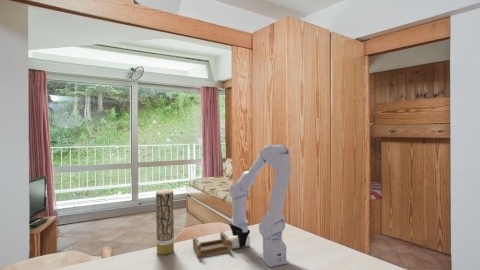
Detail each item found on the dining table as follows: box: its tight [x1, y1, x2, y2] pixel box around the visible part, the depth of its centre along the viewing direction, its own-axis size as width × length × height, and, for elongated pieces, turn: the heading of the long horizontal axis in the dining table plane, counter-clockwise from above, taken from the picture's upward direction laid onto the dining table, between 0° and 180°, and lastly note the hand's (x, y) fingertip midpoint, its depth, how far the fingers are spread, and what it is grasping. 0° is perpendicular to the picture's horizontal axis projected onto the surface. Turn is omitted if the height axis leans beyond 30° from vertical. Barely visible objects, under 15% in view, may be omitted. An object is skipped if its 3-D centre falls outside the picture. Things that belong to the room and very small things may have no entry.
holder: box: [192, 231, 231, 259], centre depth 108 cm, size 10×13×5 cm
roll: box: [228, 234, 251, 250], centre depth 111 cm, size 5×8×5 cm, turn 111°
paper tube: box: [155, 188, 175, 256], centre depth 107 cm, size 7×7×25 cm
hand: (239, 243), depth 111 cm, fingers open, 7 cm apart
